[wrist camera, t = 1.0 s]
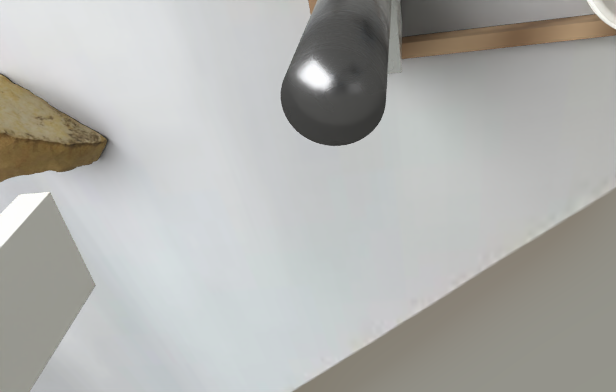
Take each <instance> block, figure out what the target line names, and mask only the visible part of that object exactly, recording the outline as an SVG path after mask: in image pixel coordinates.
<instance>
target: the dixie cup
mask: <svg viewBox="0 0 616 392" xmlns="http://www.w3.org/2000/svg"><path fill="white" fill-rule="evenodd" d="M587 2H588V4H589V5H590V7H591V8H592V10H593V11H594V12H595V14H596V15H597V16H598V17H599V18H600V19H601V20H602V21H604V22H605V23H606V24H608V25H609V26H611V27H612V28H614V29H616V0H587Z"/></svg>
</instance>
